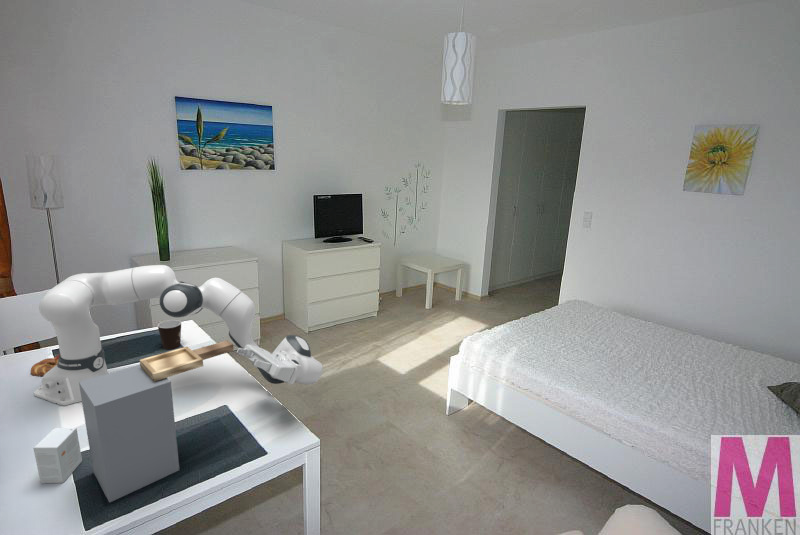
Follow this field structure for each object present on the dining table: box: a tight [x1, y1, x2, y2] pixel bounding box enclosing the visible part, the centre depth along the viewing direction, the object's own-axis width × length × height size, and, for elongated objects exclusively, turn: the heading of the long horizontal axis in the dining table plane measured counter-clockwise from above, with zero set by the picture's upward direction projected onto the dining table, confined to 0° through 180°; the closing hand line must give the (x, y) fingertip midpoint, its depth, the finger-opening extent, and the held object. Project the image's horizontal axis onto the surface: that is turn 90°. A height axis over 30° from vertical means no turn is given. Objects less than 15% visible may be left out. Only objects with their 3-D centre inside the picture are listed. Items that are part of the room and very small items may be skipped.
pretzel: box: [30, 356, 58, 377], centre depth 161 cm, size 12×11×4 cm
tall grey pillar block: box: [79, 364, 180, 503], centre depth 112 cm, size 16×14×26 cm
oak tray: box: [139, 340, 234, 382], centre depth 120 cm, size 22×10×2 cm, turn 137°
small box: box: [33, 427, 83, 484], centre depth 113 cm, size 8×6×10 cm
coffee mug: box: [157, 319, 182, 351], centre depth 184 cm, size 12×9×10 cm
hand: (246, 356), depth 132 cm, fingers open, 8 cm apart
